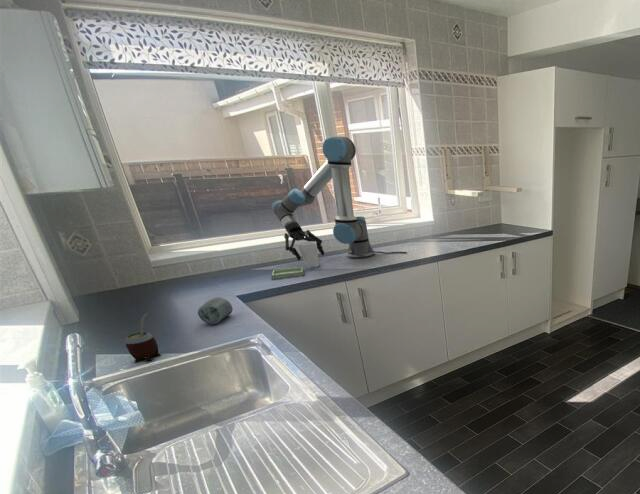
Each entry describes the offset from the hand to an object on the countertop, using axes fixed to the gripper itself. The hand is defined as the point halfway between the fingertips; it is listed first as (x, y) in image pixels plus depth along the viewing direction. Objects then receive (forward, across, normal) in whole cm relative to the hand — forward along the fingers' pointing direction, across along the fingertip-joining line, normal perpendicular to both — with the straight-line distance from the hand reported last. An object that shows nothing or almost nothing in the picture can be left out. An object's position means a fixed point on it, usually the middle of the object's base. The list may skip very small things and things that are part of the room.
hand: (311, 256), depth 232 cm
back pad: (+7, +16, -1) cm, 18 cm away
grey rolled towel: (+39, +65, +30) cm, 81 cm away
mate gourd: (+52, +91, +44) cm, 114 cm away
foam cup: (+3, 0, -6) cm, 6 cm away
